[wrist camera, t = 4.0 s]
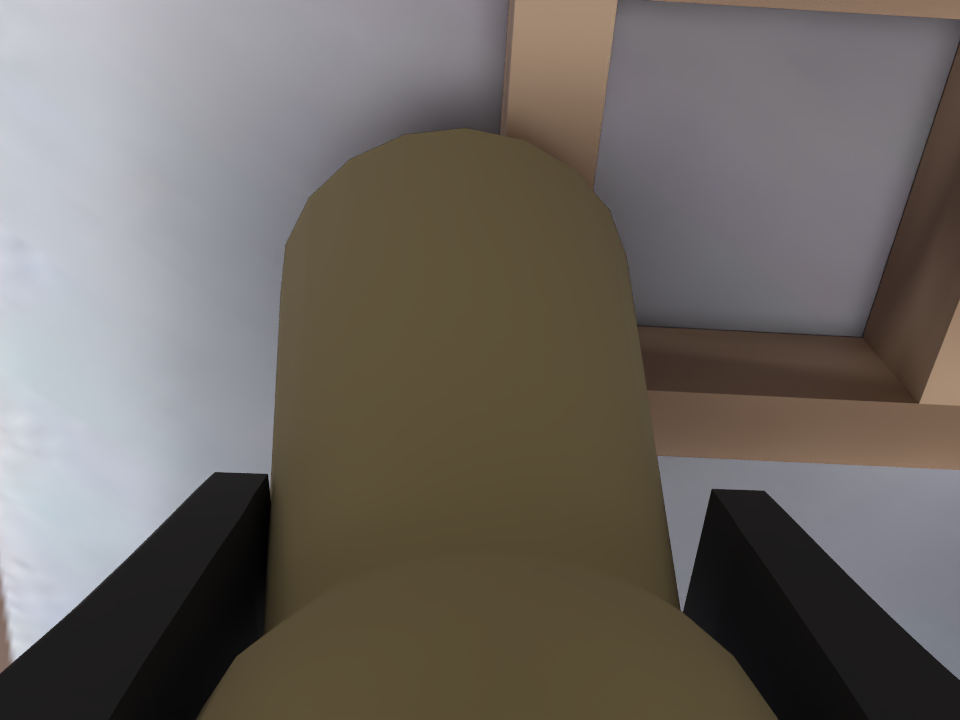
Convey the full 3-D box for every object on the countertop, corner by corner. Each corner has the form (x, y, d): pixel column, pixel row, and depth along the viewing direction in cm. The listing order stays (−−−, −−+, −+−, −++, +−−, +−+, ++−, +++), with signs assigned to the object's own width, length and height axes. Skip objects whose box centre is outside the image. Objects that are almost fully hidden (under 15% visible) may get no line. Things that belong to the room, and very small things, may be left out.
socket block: (908, 398, 21) (968, 470, 18) (483, 377, 21) (484, 447, 18) (1092, -87, 15) (1215, -83, 13) (517, -124, 15) (524, -128, 13)
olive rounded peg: (337, 68, 12) (17, 894, 3) (692, 203, 13) (1262, 1037, 4) (244, 384, 15) (-54, 1281, 6) (543, 466, 16) (682, 1284, 7)
